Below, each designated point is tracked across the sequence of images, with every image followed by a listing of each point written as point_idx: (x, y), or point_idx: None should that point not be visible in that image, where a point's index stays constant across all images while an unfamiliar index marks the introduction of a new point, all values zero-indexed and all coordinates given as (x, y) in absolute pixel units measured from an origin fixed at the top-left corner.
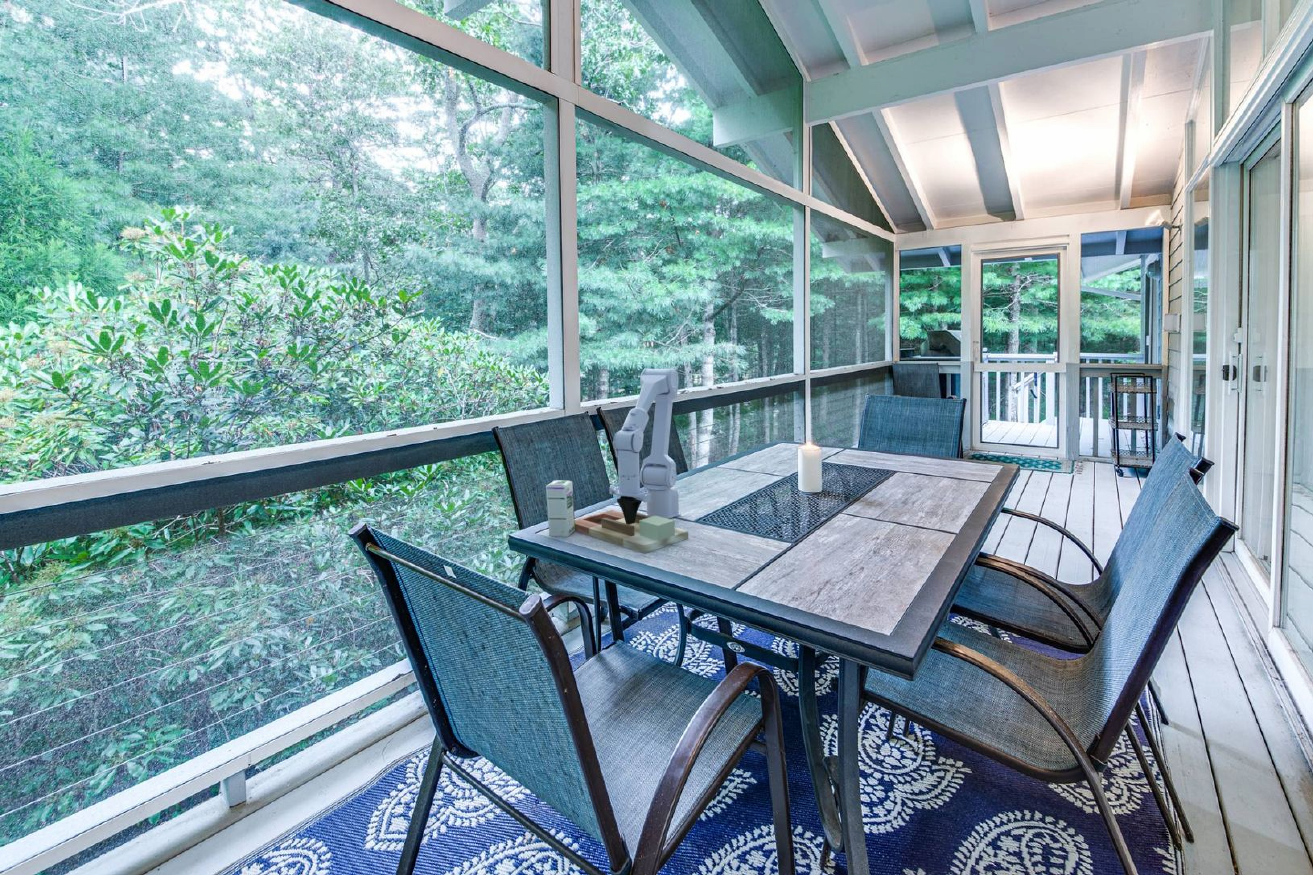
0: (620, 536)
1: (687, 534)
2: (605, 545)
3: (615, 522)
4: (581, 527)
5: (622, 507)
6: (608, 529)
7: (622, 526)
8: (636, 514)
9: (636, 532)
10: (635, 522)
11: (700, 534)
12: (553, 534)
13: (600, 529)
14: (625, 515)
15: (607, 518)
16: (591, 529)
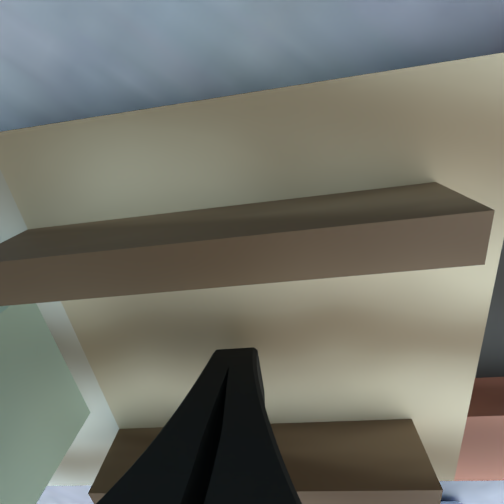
0: (65, 158)
1: None
2: (128, 13)
3: (205, 243)
4: None
5: (240, 502)
6: (322, 192)
7: (93, 244)
8: (305, 487)
9: (101, 309)
10: (312, 421)
11: (52, 494)
12: None
13: (384, 128)
14: (225, 405)
15: (416, 264)
16: (487, 56)
